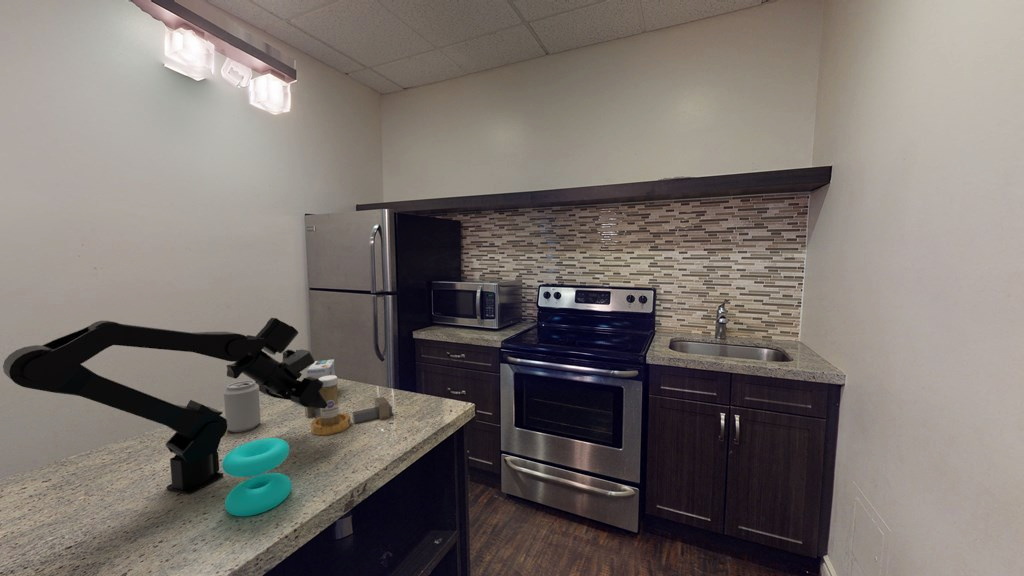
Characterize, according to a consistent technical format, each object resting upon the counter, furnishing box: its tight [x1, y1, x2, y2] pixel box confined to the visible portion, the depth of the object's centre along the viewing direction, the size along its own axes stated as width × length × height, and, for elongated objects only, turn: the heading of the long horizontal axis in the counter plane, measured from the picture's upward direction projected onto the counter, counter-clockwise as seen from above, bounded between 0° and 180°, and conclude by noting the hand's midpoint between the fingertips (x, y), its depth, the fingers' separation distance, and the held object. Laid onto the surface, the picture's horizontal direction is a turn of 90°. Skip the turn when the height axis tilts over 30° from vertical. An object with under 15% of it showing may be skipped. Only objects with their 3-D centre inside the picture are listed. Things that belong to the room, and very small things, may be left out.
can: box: [223, 379, 262, 433], centre depth 100 cm, size 8×8×12 cm
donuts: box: [221, 437, 293, 517], centre depth 68 cm, size 10×10×10 cm
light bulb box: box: [306, 359, 336, 379], centre depth 123 cm, size 11×7×11 cm, turn 18°
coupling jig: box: [304, 396, 393, 436], centre depth 103 cm, size 17×25×4 cm
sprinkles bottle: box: [319, 375, 340, 426], centre depth 99 cm, size 5×5×13 cm
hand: (315, 403), depth 95 cm, fingers open, 9 cm apart
